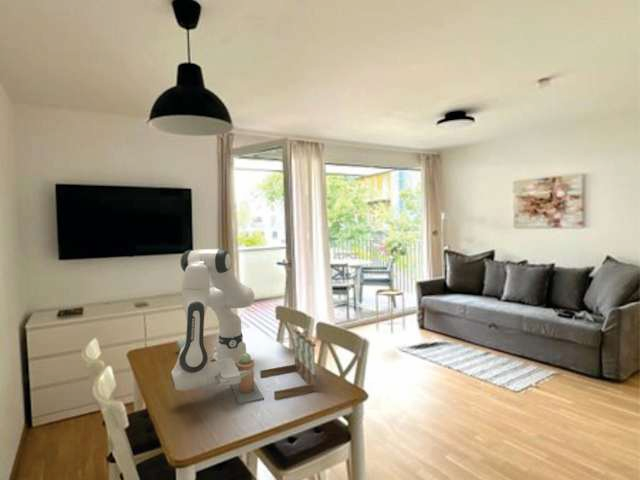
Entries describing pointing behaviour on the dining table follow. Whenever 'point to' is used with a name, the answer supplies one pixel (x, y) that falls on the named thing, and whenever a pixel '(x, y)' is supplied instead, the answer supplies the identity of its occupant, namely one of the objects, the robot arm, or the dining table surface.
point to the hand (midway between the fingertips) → (247, 367)
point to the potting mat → (247, 394)
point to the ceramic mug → (180, 344)
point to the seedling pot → (248, 380)
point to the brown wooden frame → (297, 367)
